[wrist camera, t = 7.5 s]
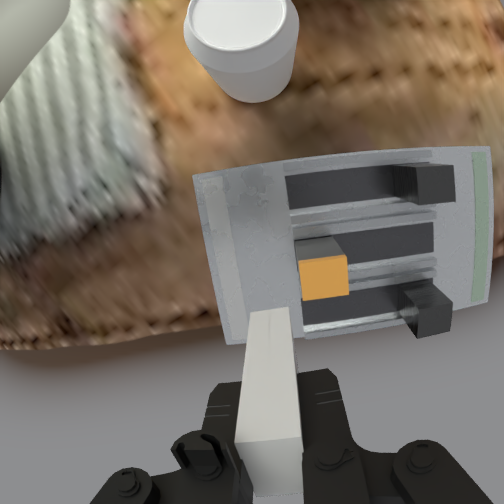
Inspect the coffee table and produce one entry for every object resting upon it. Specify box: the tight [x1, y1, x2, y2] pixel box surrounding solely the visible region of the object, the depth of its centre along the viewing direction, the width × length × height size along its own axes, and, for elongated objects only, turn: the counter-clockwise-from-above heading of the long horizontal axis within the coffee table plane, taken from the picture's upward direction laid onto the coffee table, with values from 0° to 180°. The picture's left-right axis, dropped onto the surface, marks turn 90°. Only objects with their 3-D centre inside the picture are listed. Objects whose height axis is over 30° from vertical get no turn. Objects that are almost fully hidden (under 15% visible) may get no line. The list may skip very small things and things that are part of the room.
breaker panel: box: [192, 146, 494, 345], centre depth 24 cm, size 26×15×7 cm, turn 99°
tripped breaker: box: [294, 236, 349, 301], centre depth 22 cm, size 3×2×6 cm
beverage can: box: [184, 0, 299, 103], centre depth 18 cm, size 6×6×12 cm
